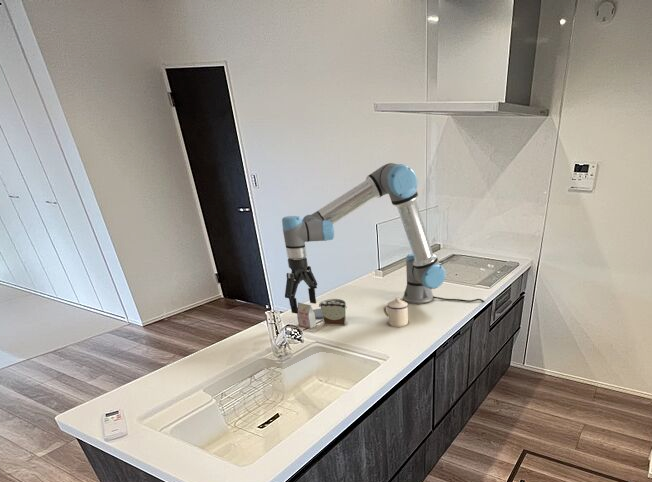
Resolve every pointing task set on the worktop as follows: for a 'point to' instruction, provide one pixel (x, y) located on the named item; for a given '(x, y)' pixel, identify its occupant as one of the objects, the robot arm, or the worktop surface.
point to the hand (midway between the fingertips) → (304, 307)
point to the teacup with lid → (397, 312)
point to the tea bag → (306, 316)
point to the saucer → (318, 314)
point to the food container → (333, 311)
